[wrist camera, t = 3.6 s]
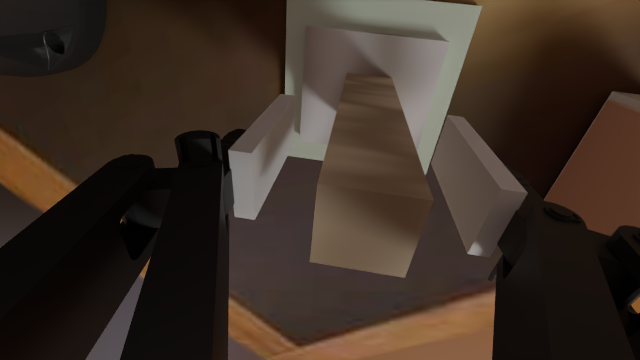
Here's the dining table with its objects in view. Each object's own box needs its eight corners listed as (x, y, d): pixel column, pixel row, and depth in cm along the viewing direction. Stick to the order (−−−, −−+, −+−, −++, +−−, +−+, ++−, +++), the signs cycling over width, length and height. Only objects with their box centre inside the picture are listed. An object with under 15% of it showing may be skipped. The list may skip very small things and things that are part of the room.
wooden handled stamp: (302, 135, 23) (226, 294, 11) (308, 24, 19) (193, 69, 6) (413, 151, 23) (473, 338, 10) (446, 40, 18) (622, 123, 6)
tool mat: (285, 152, 25) (283, 155, 24) (289, -14, 18) (287, -14, 18) (424, 171, 24) (425, 175, 24) (478, 6, 18) (482, 6, 17)
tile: (534, 207, 25) (597, 284, 18) (607, 90, 19) (737, 138, 12) (568, 212, 24) (645, 292, 18) (651, 95, 19) (808, 146, 12)
